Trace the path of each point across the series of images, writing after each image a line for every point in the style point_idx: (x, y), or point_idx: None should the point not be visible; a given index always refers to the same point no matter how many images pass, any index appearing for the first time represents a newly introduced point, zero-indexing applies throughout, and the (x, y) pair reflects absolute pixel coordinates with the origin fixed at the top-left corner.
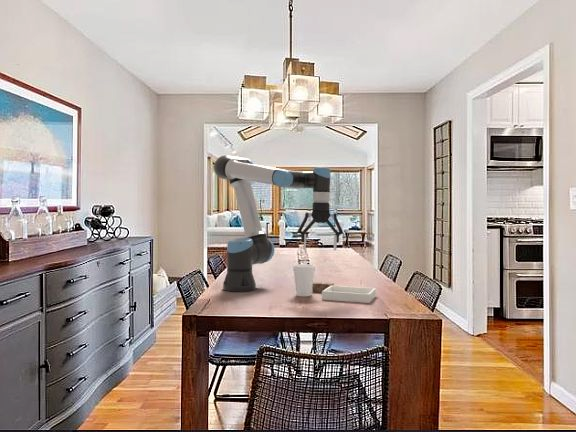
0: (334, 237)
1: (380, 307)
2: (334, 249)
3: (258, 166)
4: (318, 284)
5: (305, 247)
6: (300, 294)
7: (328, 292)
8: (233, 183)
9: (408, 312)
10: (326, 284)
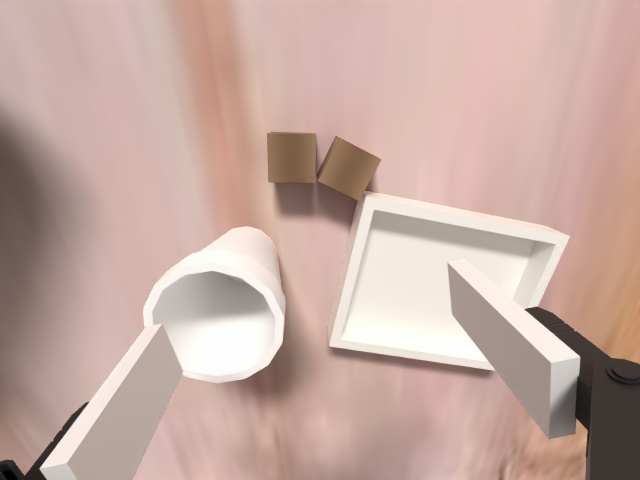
0: (527, 377)
1: (510, 403)
2: (453, 307)
3: None
4: (300, 182)
5: (171, 387)
6: (235, 284)
7: (354, 347)
8: None
9: (571, 444)
10: (342, 192)
